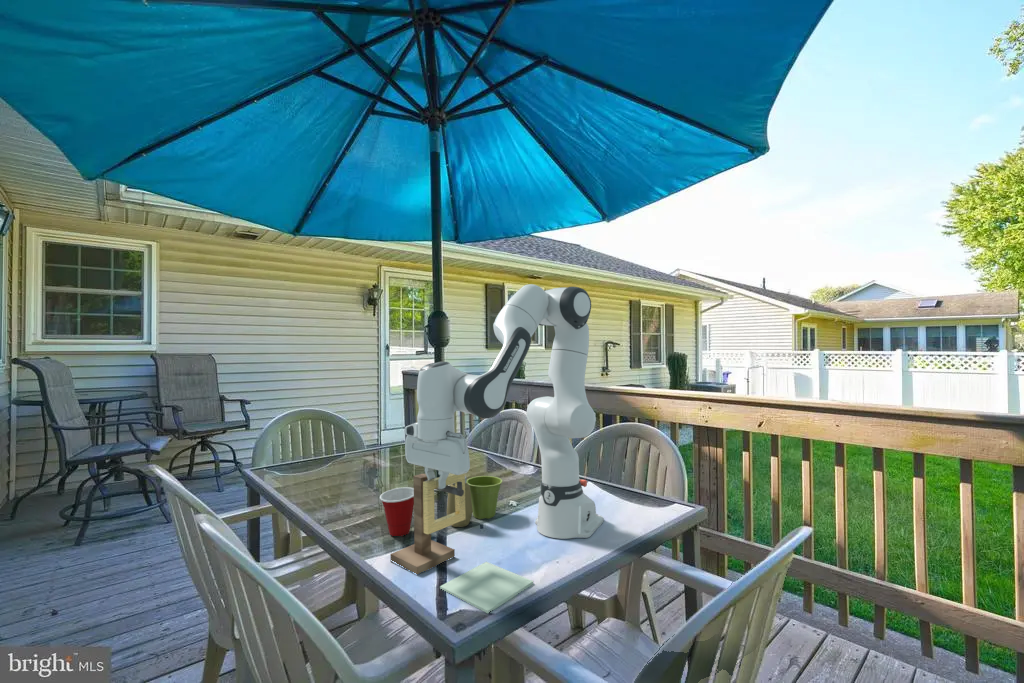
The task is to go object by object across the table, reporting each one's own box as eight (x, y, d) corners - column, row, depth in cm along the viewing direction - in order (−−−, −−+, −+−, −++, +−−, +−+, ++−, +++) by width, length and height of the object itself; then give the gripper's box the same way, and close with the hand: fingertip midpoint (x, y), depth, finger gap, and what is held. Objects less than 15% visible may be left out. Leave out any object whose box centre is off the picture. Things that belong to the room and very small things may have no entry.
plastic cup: (373, 533, 132) (372, 492, 132) (405, 523, 140) (404, 484, 140) (391, 544, 124) (391, 501, 125) (424, 533, 132) (424, 492, 132)
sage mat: (486, 564, 112) (486, 561, 112) (533, 583, 102) (533, 581, 102) (439, 588, 101) (439, 586, 101) (487, 613, 91) (487, 610, 91)
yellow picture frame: (461, 517, 115) (460, 470, 115) (465, 519, 113) (464, 471, 114) (423, 532, 105) (422, 481, 106) (428, 534, 104) (427, 483, 105)
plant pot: (498, 523, 138) (497, 487, 138) (461, 521, 141) (461, 485, 141) (506, 510, 150) (505, 476, 150) (472, 508, 152) (471, 474, 152)
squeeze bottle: (460, 517, 144) (459, 461, 144) (478, 523, 139) (477, 464, 139) (441, 525, 138) (440, 466, 138) (459, 531, 133) (458, 470, 133)
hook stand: (427, 545, 123) (426, 464, 124) (480, 568, 110) (479, 476, 110) (390, 561, 114) (389, 473, 115) (443, 588, 101) (441, 488, 101)
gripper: (475, 431, 104) (476, 491, 103) (420, 423, 117) (421, 476, 117) (455, 436, 99) (456, 499, 99) (400, 427, 112) (401, 482, 112)
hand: (436, 486), depth 108 cm, fingers closed on yellow picture frame, 2 cm apart
